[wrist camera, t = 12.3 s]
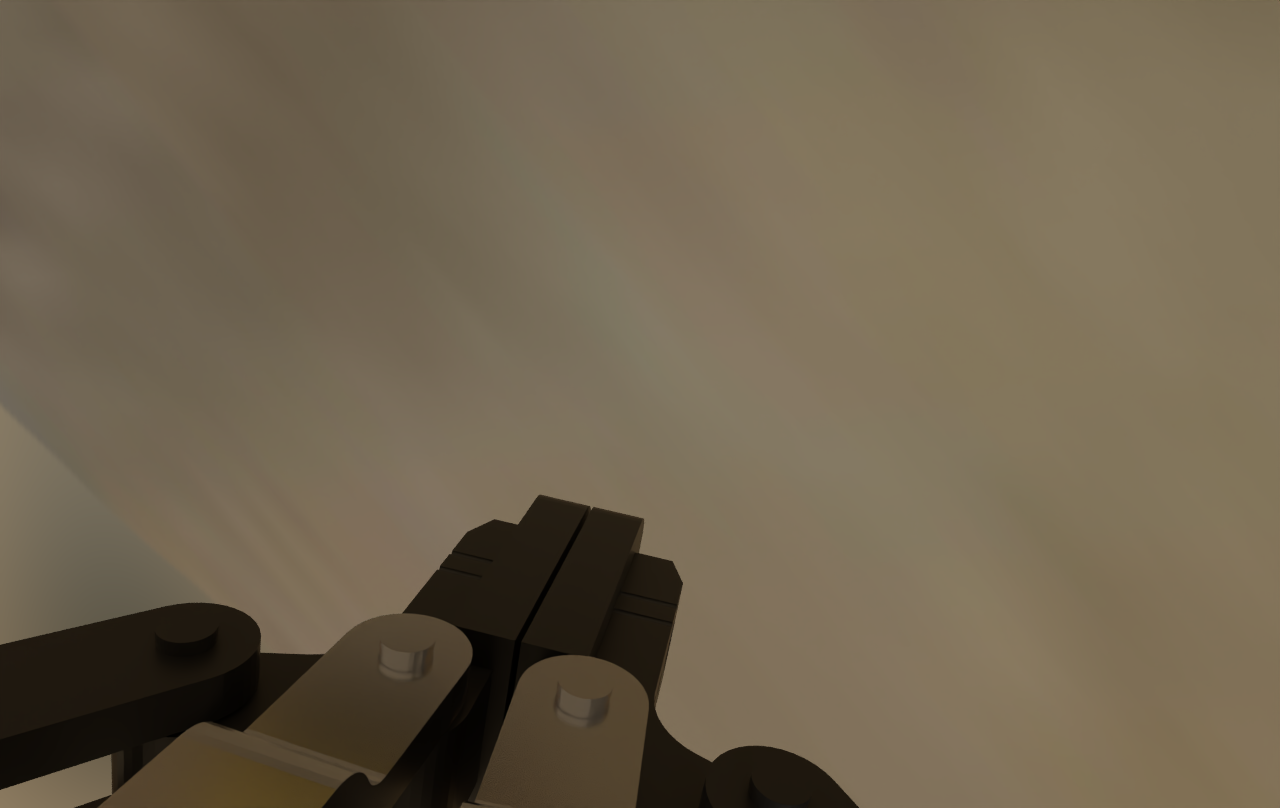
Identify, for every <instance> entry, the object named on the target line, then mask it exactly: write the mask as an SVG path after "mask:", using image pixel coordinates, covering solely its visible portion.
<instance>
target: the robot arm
mask: <svg viewBox="0 0 1280 808" xmlns="http://www.w3.org/2000/svg"><path fill="white" fill-rule="evenodd" d="M643 527H644V519H643V518H639V517H635V516H630V515H626V514H622V513H617V512H613V511H609V510H604V509H600V508H596V507H593V508H592V510H591V508H590V506H587V505H582V504H578V503H574V502H569V501H565V500H561V499H557V498H552V497H548V496H544V495H539V496H538V497H537V498H536V500H535V501H534V502H533V504H532V505H531V507H530V508H529V510H528V511H527V513H526V514H525V515H524V517H523V518H522V520H521V521H520V523H519V524H518V525H516V524H512V523H508V522H504V521H500V520H495V519H494V520H492V521H490V522H488V523H486V524H483V525H481V526H479V527H477V528H475V529H473V530H470V531H468V532H467V533H466V534H465V535H464V537H463V538H462V539H461V540H460V542H459V543H458V544H457V545H456V547H455V548H454V549H453V550H452V554H449V555H448V557H447V558H446V559H445V560H444V562H443V563H442V564H441V565H440V569H439V570H436V572H435V573H434V574H433V575H432V577H431V578H430V579H429V580H428V582H427V583H426V584H425V585H424V587H423V588H422V589H421V590H420V592H419V593H418V594H417V595H416V597H415V598H414V599H413V600H412V602H411V603H410V604H409V605H408V607H407V608H406V609H405V610H404V612H403V613H402V614H390V615H383V616H379V617H375V618H372V619H369V620H367V621H364V622H362V623H360V624H358V625H357V626H355V627H354V628H352V629H351V630H350V631H349V632H347V633H346V634H345V635H344V636H343V637H342V638H341V639H340V640H339V641H338V642H337V643H336V644H335V645H334V646H333V647H332V648H331V649H330V650H329V651H328V652H326V653H325V654H313V655H307V654H279V653H260V645H261V633H260V628H259V627H258V625H257V623H256V622H255V621H254V620H253V619H252V618H251V617H250V616H248V615H247V614H245V613H244V612H242V611H239V610H237V609H235V608H232V607H228V606H224V605H219V604H212V603H185V604H176V605H171V606H165V607H161V608H156V609H153V610H148V611H144V612H139V613H135V614H131V615H127V616H122V617H118V618H113V619H109V620H105V621H101V622H97V623H92V624H88V625H84V626H79V627H75V628H70V629H66V630H62V631H58V632H53V633H49V634H45V635H40V636H36V637H32V638H28V639H23V640H19V641H15V642H11V643H6V644H2V645H0V790H1V789H4V788H7V787H10V786H14V785H17V784H20V783H23V782H26V781H29V780H32V779H35V778H38V777H41V776H45V775H48V774H51V773H54V772H57V771H60V770H63V769H66V768H69V767H73V766H76V765H79V764H82V763H85V762H88V761H91V760H94V759H98V758H100V757H104V756H107V755H110V754H111V762H112V795H110V796H107V797H104V798H101V799H98V800H95V801H92V802H89V803H87V804H84V805H81V806H78V807H75V808H859V807H858V806H857V805H856V804H855V803H854V802H853V801H852V800H851V798H850V797H849V796H848V795H847V794H846V793H845V792H844V791H843V790H842V789H841V788H840V787H839V785H838V784H837V783H836V782H835V781H834V780H833V779H832V778H831V777H830V776H829V775H828V774H827V773H826V772H824V771H823V770H822V769H820V768H819V767H818V766H816V765H815V764H813V763H811V762H810V761H808V760H806V759H805V758H802V757H800V756H798V755H796V754H794V753H791V752H788V751H785V750H782V749H777V748H773V747H766V746H744V747H738V748H735V749H732V750H729V751H727V752H725V753H723V754H721V755H720V756H719V757H717V758H716V759H715V760H714V761H713V762H710V761H708V760H707V759H705V758H703V757H701V756H699V755H697V754H695V753H694V752H692V751H690V750H689V749H687V748H686V747H684V746H683V745H682V744H680V743H679V742H678V741H676V740H675V739H674V738H673V737H672V736H671V735H670V734H669V733H668V732H667V730H666V729H665V728H664V726H663V725H662V723H661V722H660V720H659V718H658V716H657V713H656V710H655V707H656V703H657V699H658V695H659V691H660V687H661V683H662V679H663V674H664V670H665V665H666V660H667V656H668V651H669V646H670V641H671V637H672V632H673V627H674V623H675V618H676V613H677V609H678V604H679V599H680V594H681V590H682V585H683V582H682V580H681V578H680V576H679V574H678V572H677V570H676V568H675V565H674V563H673V561H669V560H665V559H661V558H657V557H652V556H648V555H644V554H640V553H639V549H640V544H641V539H642V534H643Z"/></svg>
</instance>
